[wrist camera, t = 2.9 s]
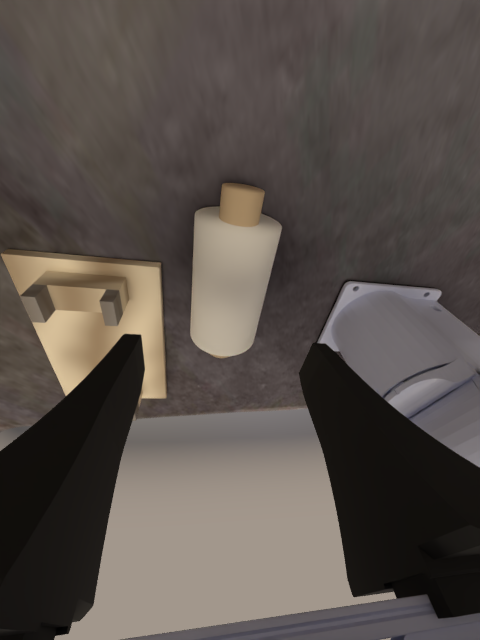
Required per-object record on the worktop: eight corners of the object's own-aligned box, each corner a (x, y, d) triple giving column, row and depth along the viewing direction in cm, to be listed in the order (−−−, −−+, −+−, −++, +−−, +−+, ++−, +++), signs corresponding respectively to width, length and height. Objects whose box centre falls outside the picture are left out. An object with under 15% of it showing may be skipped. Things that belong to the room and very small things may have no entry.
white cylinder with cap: (278, 185, 16) (301, 207, 12) (246, 329, 24) (254, 372, 20) (197, 172, 15) (193, 192, 11) (191, 326, 23) (187, 370, 19)
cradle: (160, 262, 19) (151, 291, 16) (167, 392, 28) (162, 425, 25) (8, 248, 17) (-37, 278, 14) (70, 391, 27) (52, 427, 24)
